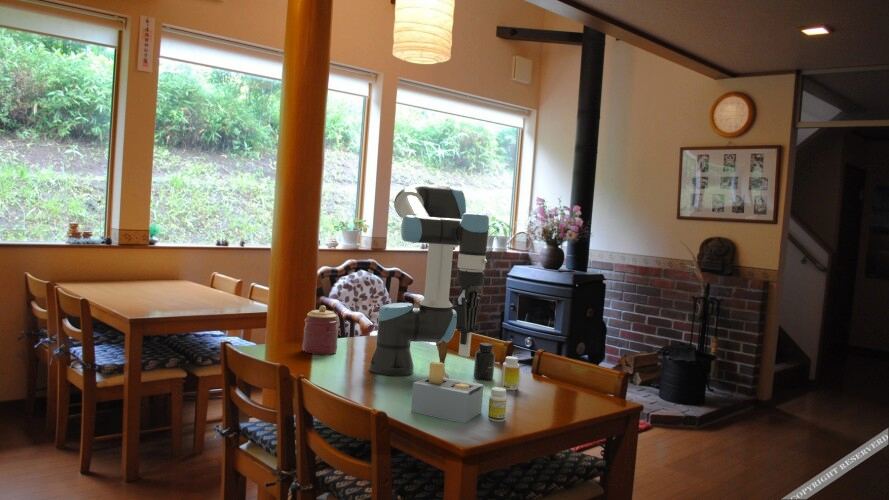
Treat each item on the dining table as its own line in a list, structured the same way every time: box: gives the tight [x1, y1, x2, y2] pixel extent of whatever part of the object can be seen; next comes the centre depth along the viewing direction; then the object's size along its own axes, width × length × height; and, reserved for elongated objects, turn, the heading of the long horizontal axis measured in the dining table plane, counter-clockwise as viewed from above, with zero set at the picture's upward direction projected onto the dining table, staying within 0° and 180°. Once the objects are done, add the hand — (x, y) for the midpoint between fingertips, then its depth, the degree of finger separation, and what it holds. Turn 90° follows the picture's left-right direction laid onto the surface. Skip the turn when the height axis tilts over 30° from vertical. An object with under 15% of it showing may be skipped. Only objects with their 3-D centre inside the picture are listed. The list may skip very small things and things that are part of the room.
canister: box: [302, 305, 340, 356], centre depth 248 cm, size 13×13×18 cm
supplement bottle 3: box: [500, 355, 521, 391], centre depth 214 cm, size 6×6×10 cm
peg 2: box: [455, 384, 469, 390], centre depth 180 cm, size 4×4×8 cm
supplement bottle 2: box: [487, 386, 508, 423], centre depth 178 cm, size 5×5×8 cm
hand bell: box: [438, 340, 450, 378], centre depth 203 cm, size 8×8×16 cm
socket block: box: [410, 376, 484, 424], centre depth 181 cm, size 16×12×8 cm
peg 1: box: [428, 361, 445, 384], centre depth 183 cm, size 4×4×8 cm
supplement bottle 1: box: [473, 342, 496, 381], centre depth 225 cm, size 7×7×12 cm
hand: (464, 355), depth 180 cm, fingers closed
